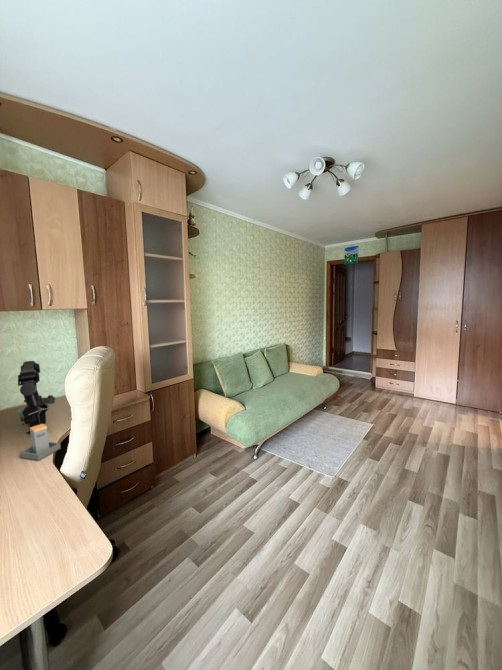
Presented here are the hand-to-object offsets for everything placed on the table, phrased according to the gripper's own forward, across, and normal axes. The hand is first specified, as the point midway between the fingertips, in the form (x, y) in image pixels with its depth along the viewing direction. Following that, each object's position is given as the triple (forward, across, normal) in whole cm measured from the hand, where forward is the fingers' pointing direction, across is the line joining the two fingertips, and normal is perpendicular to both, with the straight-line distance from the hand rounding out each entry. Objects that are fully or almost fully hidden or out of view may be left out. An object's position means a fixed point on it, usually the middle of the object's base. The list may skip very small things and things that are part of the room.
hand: (42, 425), depth 134 cm
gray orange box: (+12, -8, +2) cm, 14 cm away
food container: (-3, +36, +13) cm, 39 cm away
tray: (+12, -8, +2) cm, 15 cm away
